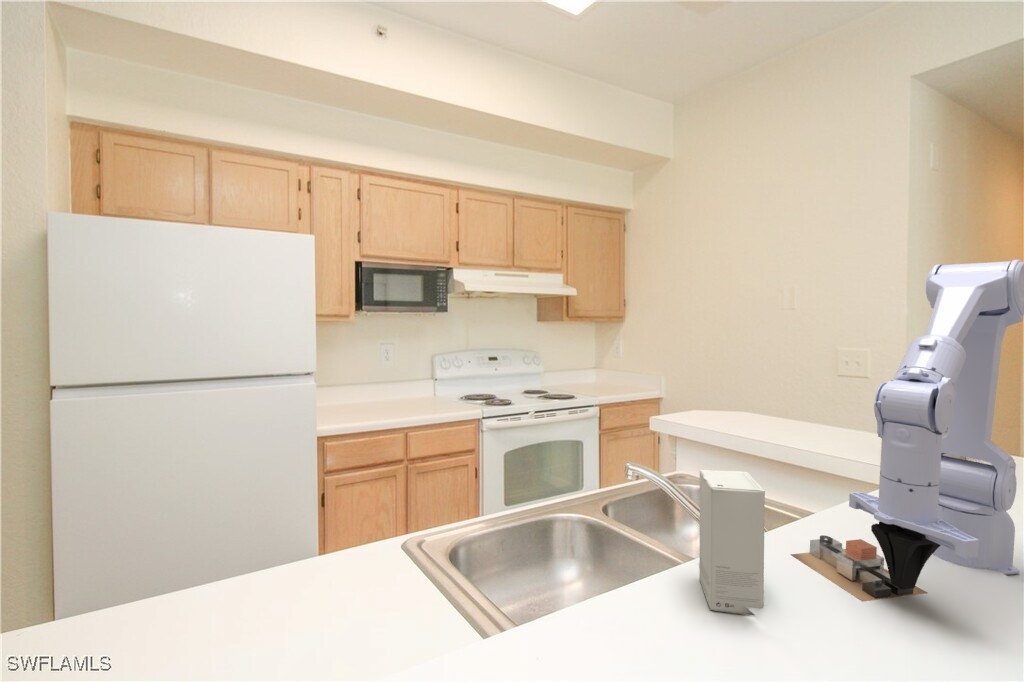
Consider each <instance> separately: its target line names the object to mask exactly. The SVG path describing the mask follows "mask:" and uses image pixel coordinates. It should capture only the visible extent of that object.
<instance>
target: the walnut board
mask: <svg viewBox="0 0 1024 682" xmlns="http://www.w3.org/2000/svg"><path fill="white" fill-rule="evenodd" d="M844 549H845V550H846V548H844ZM790 556H792V558H795V559H796V560H797V561H800V563H802V564H804V565H805V566H807V567H809V568H810V569H812V570H813V571H815V572H816V573H817V574H819V575H821V576H822V577H824V578H825V579H827V580H828V581H830V582H832V583H833V584H834V585H836V586H837V587H839V588H840V589H841V590H843V591H845V592H847V593H849V594H850V595H851V596H853V597H855V598H856V599H858V600H859V601H861V602H867V601H868V602H869V601H870V602H871V601H877V600H886V599H893V598H894V599H895V598H898V597H899V598H900V597H908V596H916V595H917V596H918V595H923V594H928V593H929V592H928V591H926V590H924V589H923V588H920V587H918V586H916V585H915V587H914V588H913V594H906V595H898V596H897V595H896V594H894V593H892V592H891V596H890V597H882V598H874V597H872V596H870V595H869V594H867V593H866V592H864V591H862V586H863V584H861V583H859V582H858V581H856V580H850V579H849V578H847V577H845V576H844V575H842V574H840V573H839V572H837V568H835V567H833V566H832V565H830V564H828V563H827V562H825V561H823V560H822V559H818V558H816V557H815V556H813V555H812V554H810V551H809V552H802V553H794V554H793V553H791V554H790ZM884 572H886V573H888V574H889V571H888V569H886V568H884Z"/></svg>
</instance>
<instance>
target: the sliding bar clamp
mask: <svg viewBox="0 0 1024 682" xmlns="http://www.w3.org/2000/svg"><path fill="white" fill-rule="evenodd" d="M845 549H846V548H843V543H842V542H840V541H839V540H836V539H835V538H833V537H831V536H829V535H820V536H819V539H810V540H809V552H810V554H812V555H813V556H815V557H816V558H818V559H822V560H823V561H825V562H827V563H828V564H830V565H832V566H833V567H835V568H837V555H838V553H841V552H846V550H845ZM856 581H858V582H859V583H861V584H863V586H862V591H864V592H866V593H867V594H869V595H870V596H872V597H874V598H882V597H890V596H891V592H892V593H894V594H896V595H897V596H898V595H906V594H913V588H910V589H903V590H902V589H900V588H898V587H896V586H894V585H893V584H892V583H891V579H890V575H889V574H888V573H886V572H884V571H882V570H881V569H879V568H877V567H875V566H873V567H864V568H856Z"/></svg>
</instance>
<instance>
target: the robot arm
mask: <svg viewBox="0 0 1024 682" xmlns="http://www.w3.org/2000/svg"><path fill="white" fill-rule="evenodd" d="M925 294H926V299H927V300H928V303H929V305H930V308H931V309H932V312H931V315H930V319H929V322H928V325H927V329H926V332H925V335H923V336H918V337H917V338H915V339H913V340H912V341H911V342H910V344H909V346H908V347H907V350H906V351H905V354H904V356H903V358H902V360H901V363H900V365H899V366H898V369H897V370H896V372H895V375H894V377H893V379H892V378H891V379H890V380H888V381H887V382H886V381H885V382H882V383H881V384H880V385H878V387H877V390H876V394H875V399H874V403H873V411H874V416H875V419H876V425H877V427H876V428H877V429H876V432H877V433H876V434H877V437H878V438H880V439H881V444H880V445H881V447H880V466H879V484H878V485H879V486H878V488H879V489H878V496H874V495H871V494H868V493H866V492H863V491H857V492H854V491H853V492H849V495H848V496H849V497H848V498H849V499H848V503H849V504H848V507H850V508H852V509H854V510H861V511H863V512H866V513H868V514H870V515H872V516H873V518H874V519H875V520H877V521H878V523H873V524H872V525H871V528H870V529H871V533H872V535H874V537H875V538H876V540H877V543H878V544H879V546H880V549H881V551H882V553H883V556H884V557H883V558H884V561H885V563H886V568H887V570H888V571H889V575H890V579H891V583H892V584H893V585H894V586H896V587H898V588H900V589H902V590H903V589H910V588H914V587H915V586H916V583H918V582H917V581H918V579H919V577H920V574H921V573H922V570H923V569H924V566H925V565H926V563H927V561H928V560H929V559H930V557H932V555H933V556H935V557H937V558H939V559H941V560H943V561H945V562H949V563H951V564H954V565H957V566H960V567H961V566H962V567H965V568H970V569H971V568H972V569H978V570H989V569H991V570H993V571H996V572H997V573H1000V574H1002V575H1005V576H1007V575H1014V574H1020V573H1021V572H1020V569H1019V568H1018V567H1015V566H1013V565H1014V564H1013V562H1014V551H1015V539H1016V537H1015V536H1016V527H1015V523H1014V520H1013V518H1012V517H1011V515H1010V514H1009V513H1008V512H1007V511H1010V510H1011V509H1012V507H1013V506H1014V505H1013V504H1014V503H1015V500H1016V499H1015V498H1016V494H1017V484H1018V483H1017V475H1016V468H1017V464H1016V461H1015V459H1014V457H1013V456H1012V455H1010V454H1009V453H1008V452H1007V451H1005V450H1004V449H1003V448H1001V447H1000V446H999V445H998V444H996V443H995V442H993V440H992V433H993V432H992V431H993V423H994V422H993V421H994V414H995V406H996V397H997V388H998V387H997V386H998V379H999V371H1000V362H1001V354H1002V353H1001V352H1002V345H1003V344H1002V343H1003V340H1004V338H1005V337H1004V336H1005V333H1006V331H1007V328H1008V327H1010V326H1013V325H1016V324H1019V323H1021V322H1023V320H1024V261H1023V260H1022V259H1013V260H1009V261H1008V260H1007V261H994V262H993V261H992V262H991V261H990V262H975V263H974V262H973V263H972V262H971V263H955V264H942V263H938V264H935V265H934V266H933V267H932V268H931V269H930V270H929V271H928V273H927V277H926V281H925ZM947 428H948V434H947V435H946V436H944V437H942V434H943V432H945V431H946V430H947ZM944 454H951V455H957V456H962V457H966V460H963V459H958V458H953V457H948V456H943V455H944ZM967 458H968V459H974V460H979V461H983V462H986V463H983V462H978V461H972V460H968V459H967Z"/></svg>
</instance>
